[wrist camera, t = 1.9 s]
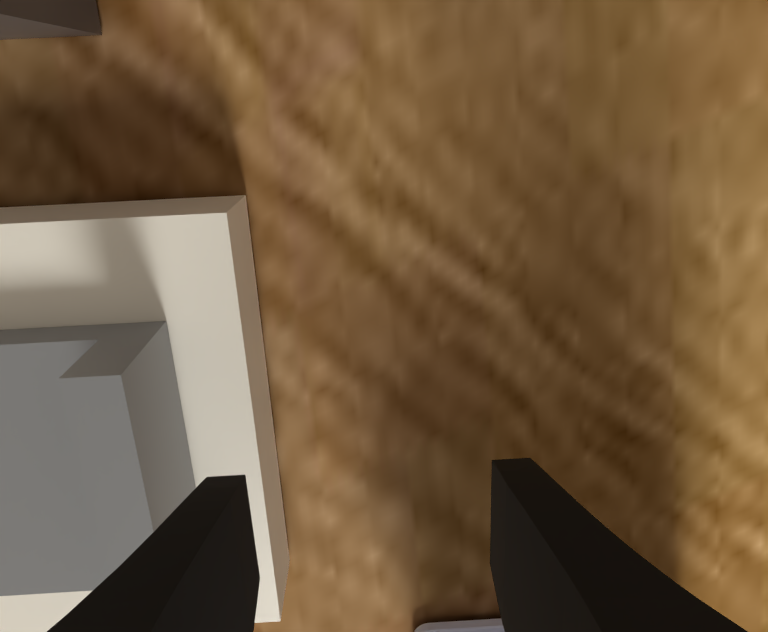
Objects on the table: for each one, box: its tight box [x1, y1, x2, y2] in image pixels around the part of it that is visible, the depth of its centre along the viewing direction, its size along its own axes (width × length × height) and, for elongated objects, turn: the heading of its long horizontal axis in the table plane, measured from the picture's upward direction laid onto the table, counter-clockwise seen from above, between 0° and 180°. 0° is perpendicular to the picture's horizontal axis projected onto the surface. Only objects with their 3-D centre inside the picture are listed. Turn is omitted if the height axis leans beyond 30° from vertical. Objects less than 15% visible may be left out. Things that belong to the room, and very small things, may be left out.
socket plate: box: [0, 195, 290, 632], centre depth 17 cm, size 11×12×2 cm
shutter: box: [0, 321, 196, 596], centre depth 15 cm, size 6×7×3 cm
